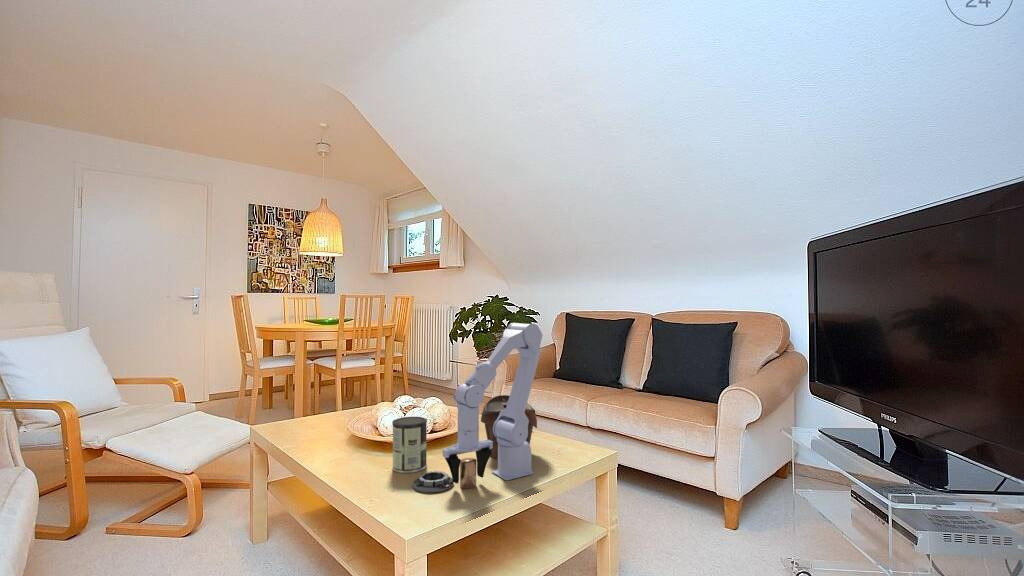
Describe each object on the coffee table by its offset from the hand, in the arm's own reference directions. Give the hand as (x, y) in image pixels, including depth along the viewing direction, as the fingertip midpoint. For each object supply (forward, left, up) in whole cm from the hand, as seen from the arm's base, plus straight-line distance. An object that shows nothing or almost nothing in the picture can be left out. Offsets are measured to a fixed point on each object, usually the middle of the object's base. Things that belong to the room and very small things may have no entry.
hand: (468, 479), depth 129 cm
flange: (+8, -6, -2) cm, 10 cm away
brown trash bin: (-24, -16, -2) cm, 29 cm away
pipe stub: (0, 0, -2) cm, 2 cm away
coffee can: (+8, -23, -2) cm, 24 cm away
